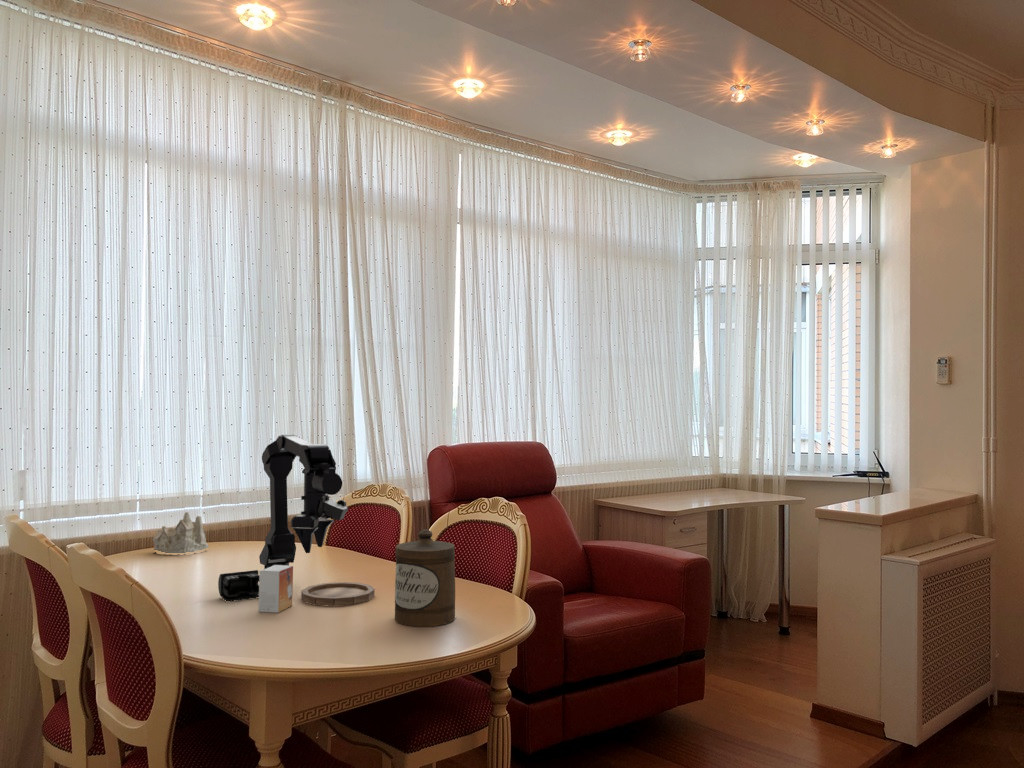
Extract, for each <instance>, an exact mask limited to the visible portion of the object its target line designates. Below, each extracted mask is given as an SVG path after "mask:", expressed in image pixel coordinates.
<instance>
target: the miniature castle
mask: <svg viewBox="0 0 1024 768" xmlns="http://www.w3.org/2000/svg"><path fill="white" fill-rule="evenodd" d="M203 525H204V524H203V521H202V516H201V515H196V517H195V521H192V519H191V517H190V514H189V511H185V512H184V514H183V519H179V522H178V523H177V524H176V526H174V527H169V528H168V529H167V526H166V525H163V526H161V530H157V531H156V533H155V535H154V536H153V538H152V541H153V545H154V548H153V550H158V551H161V552H165V553H186V552H194V551H198V550H202V549H206V548H208V547H209V544H208V542H207V541H206V534H207V533H206V531H205V530H204V527H203Z"/></svg>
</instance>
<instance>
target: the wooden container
mask: <svg viewBox="0 0 1024 768" xmlns="http://www.w3.org/2000/svg"><path fill="white" fill-rule="evenodd" d="M417 535H418V537H419V539H417V540H416V541H407V542H402V543H398V544H396V545H395V578H394V579H395V583H394V620H395V622H397V623H398V624H400V625H404V626H407V627H416V628H419V627H420V628H422V627H423V628H424V627H425V628H426V627H437V626H442V625H447V624H450V623H452V622H453V621H455V619H456V568H455V566H456V565H455V558H456V556H455V555H456V554H455V553H456V552H455V551H456V549H455V548H456V547H455V544H454V543H452V542H449V541H448V542H446V541H442V540H441V541H440V540H433V532H432V531H431V530H430V529H425V528H423V529H422V530H421V531H419V532H418V534H417Z"/></svg>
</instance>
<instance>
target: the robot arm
mask: <svg viewBox="0 0 1024 768" xmlns="http://www.w3.org/2000/svg"><path fill="white" fill-rule="evenodd" d="M297 457H298V458H299V459H298V461H299V462H300V463H301V465H302V466H303V469H302V470H301V473H302V474H303V476H304V477H303V479H304V480H303V495H301V499H300V500H302V501H303V510H302V511H300V514H298V515H294V516H293V517H292V518H291V519H290V527H291V528H292V529H293V531H294V532H295V534H296V535H295V534H294V533H292V532H291V530H290V529H289V520H288V518H289V517H288V515H289V514H288V509H289V508H288V477H289V475H290V473H291V471H292V470H293V463H294V461H295V460H296V458H297ZM261 462H262V464H263V470H264V472H265V474H266V475H267V476H268V478H269V494H270V495H269V496H270V497H269V499H270V500H269V501H270V502H269V503H270V506H269V507H270V529H269V531H268V533H267V535H266V536H265V538H264V539H265V541H264V545H263V548H262V550H261V552H260V554H259V556H258V557H259V564H260V565H263V566H264V567H263V570H264V569H266V568H269V567H271V566H273V565H286V566H290V563H291V564H294V562H295V559H296V550H297V545H296V542H295V541H296V536H297V538H298V539H299V541H300V543H301V546H302V548H303V551H304V552H305V554H310V553H311V549H312V544H313V543H312V542H313V537H314V539H315V541H316V545H317V547H318V548H322V547H323V545H324V541H325V539H326V538H325V537H326V534H327V531H328V528H329V527H330V526H331V525H332V524H333V523H334V522H335V520H336V521H341V520H344V518H345V515H346V513H348V511H349V510H348V507H349V506H347V501H346V500H344V499H339V500H338V501H337V502H336V501H332V500H330V495H331V496H334V495H336V494H338V493H339V492H340V491H341V489H342V487H343V480H342V477H341V476H340V475H339V474H338V473H336V470H337V467H336V465H337V463H336V460H335V458H334V456H333V453H332V451H331V449H330V446H328V445H327V444H326V443H325V444H323V443H321V444H320V443H311V442H309V441H306V440H304V439H302V438H300V437H298V435H296V434H281V435H278V436H277V438H276V439H275V440H274V441H272V442H271V443H270V444H268V445H267V446H266V448H264V450H263V452H262V455H261Z"/></svg>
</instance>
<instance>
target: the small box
mask: <svg viewBox="0 0 1024 768" xmlns="http://www.w3.org/2000/svg"><path fill="white" fill-rule="evenodd" d="M258 575H259V581H258V585H259V598H258V612H259V613H275V614H277V613H280V612H282V611H284V610H286V609H288V607H289V608H291V607H292V606H293V594H294V590H293V588H294V587H293V586H294V565H289V566H286V565H273V566H271V567H269V568H266V569H264V568H263V569H260V570H258ZM290 606H291V607H290Z"/></svg>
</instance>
